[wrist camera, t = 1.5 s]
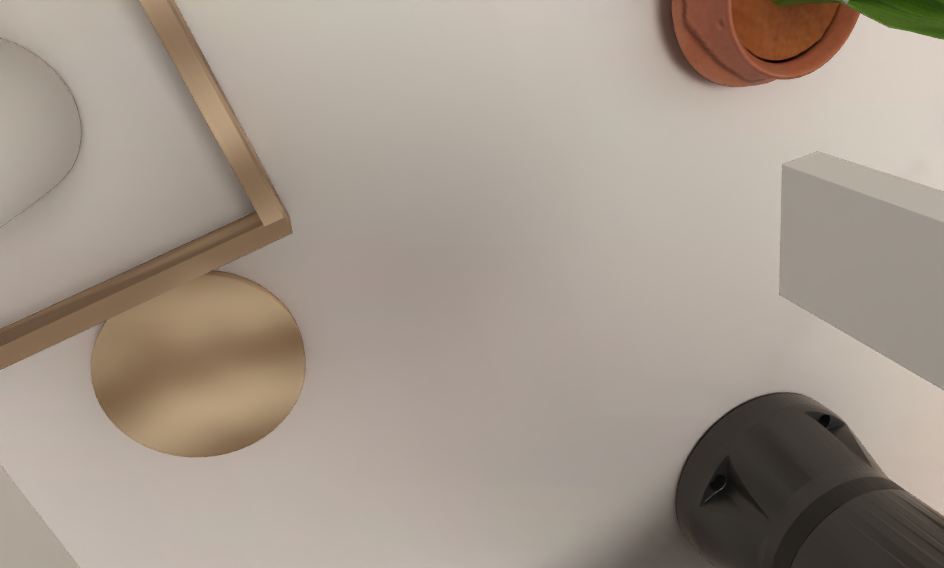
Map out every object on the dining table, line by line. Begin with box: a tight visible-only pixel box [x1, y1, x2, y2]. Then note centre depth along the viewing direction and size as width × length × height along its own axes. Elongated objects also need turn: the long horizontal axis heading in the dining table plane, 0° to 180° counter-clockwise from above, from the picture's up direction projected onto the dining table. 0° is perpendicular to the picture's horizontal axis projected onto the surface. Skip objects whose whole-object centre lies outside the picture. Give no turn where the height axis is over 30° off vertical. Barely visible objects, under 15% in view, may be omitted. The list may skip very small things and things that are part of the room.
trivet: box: [91, 271, 305, 457], centre depth 38 cm, size 11×11×1 cm
